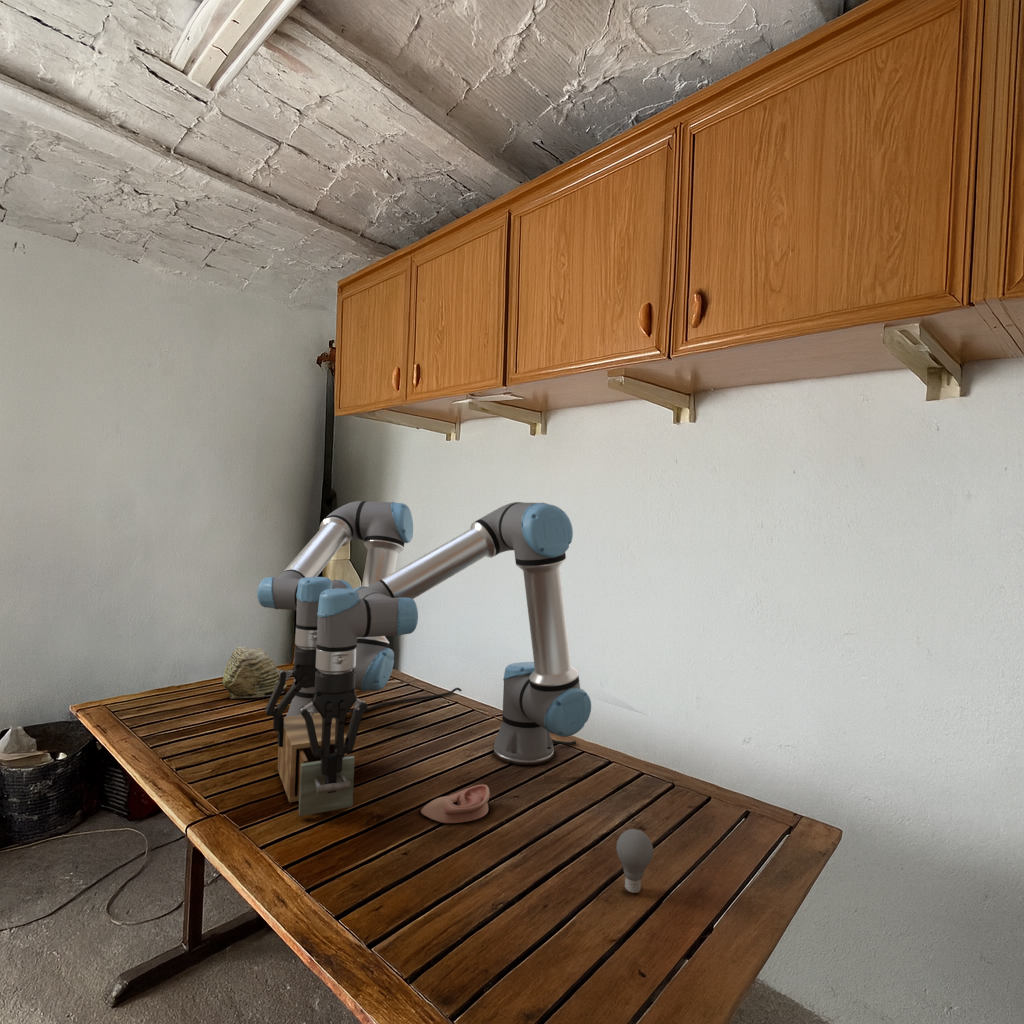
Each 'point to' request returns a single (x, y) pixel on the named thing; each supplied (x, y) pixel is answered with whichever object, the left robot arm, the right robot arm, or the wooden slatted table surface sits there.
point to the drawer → (322, 784)
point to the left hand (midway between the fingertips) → (308, 741)
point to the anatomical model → (459, 806)
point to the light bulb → (634, 857)
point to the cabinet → (293, 740)
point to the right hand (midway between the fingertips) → (330, 789)
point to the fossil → (250, 674)
